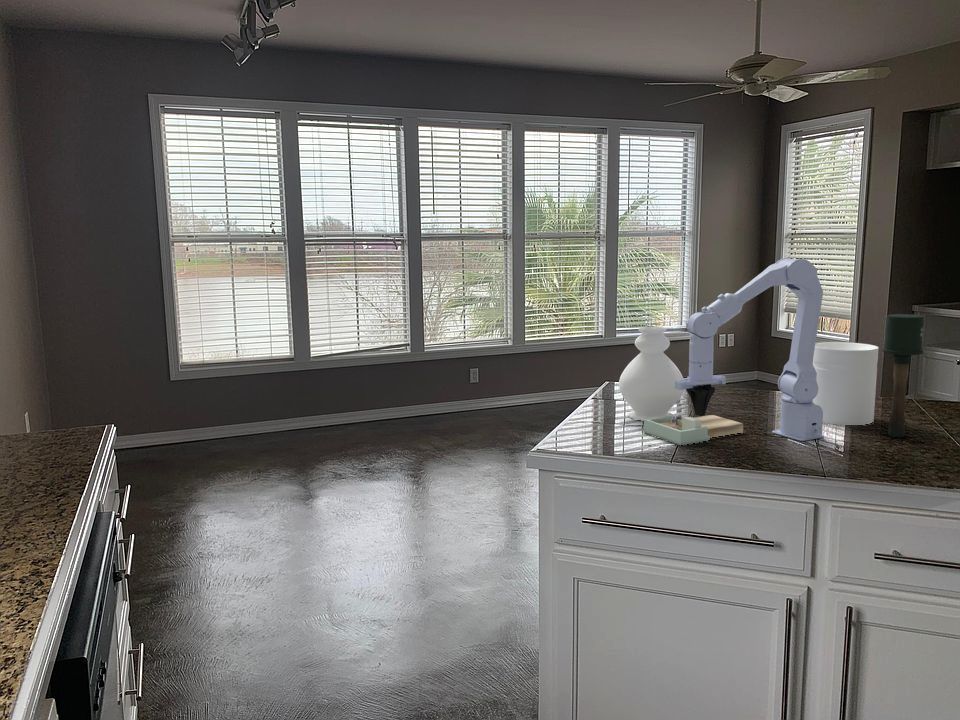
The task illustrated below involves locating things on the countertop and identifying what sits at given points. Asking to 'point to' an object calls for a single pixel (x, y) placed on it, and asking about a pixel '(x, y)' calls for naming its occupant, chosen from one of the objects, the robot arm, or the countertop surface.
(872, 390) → the canister
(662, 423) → the terracotta tile
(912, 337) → the stick grenade
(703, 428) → the tray
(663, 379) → the decorative vase
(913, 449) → the countertop surface
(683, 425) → the cream tile
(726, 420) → the board
